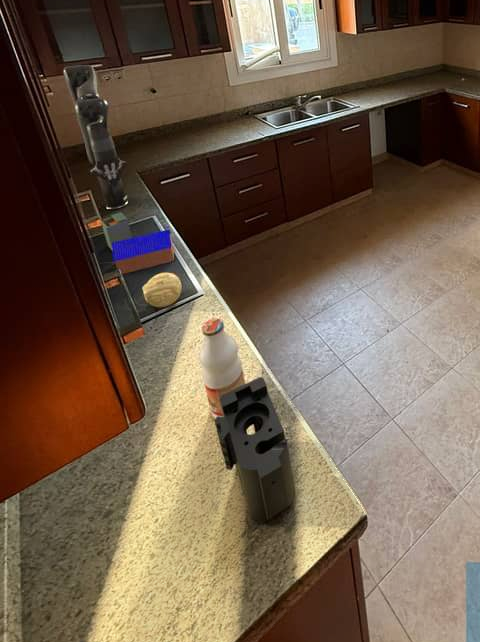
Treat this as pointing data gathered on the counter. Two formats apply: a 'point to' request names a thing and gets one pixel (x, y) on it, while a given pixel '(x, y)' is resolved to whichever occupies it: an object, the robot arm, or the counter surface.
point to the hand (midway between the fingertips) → (114, 186)
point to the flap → (119, 217)
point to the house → (143, 251)
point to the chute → (116, 231)
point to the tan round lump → (162, 289)
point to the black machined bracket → (256, 449)
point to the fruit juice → (219, 364)
